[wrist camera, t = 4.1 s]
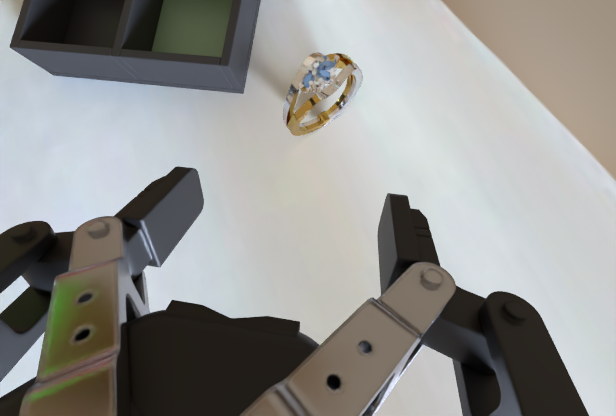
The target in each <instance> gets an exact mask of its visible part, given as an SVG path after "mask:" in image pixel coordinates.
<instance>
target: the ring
mask: <svg viewBox="0 0 616 416" xmlns="http://www.w3.org/2000/svg"><path fill="white" fill-rule="evenodd" d="M338 68H341V69H343V70H342V71H341V72H340V73H339V74H338V76H337V77H336V78H335V71H336V70H337V69H338ZM347 77H348V79H347V84H346V87H345V90H344V92H343V94H342V95H341V97H340V98H339V99H338V101H337V102H336V103H335V104H334V105H333V106H332V107H331V108H330V109H329V110H327V111H326V112H325V111H324V112H322V113H320V114H319V115H318V116H317V118H315V119H313V120H311V121H309V122H306V123H301V121H302V120H303V119H304V117H305V116H306V115H307V114H308V113H309V112H310V110H311V109H312V108H313V107H314V106H315V105H316V104H317V103H318V102H319V101H321V100H322V99H324V98H327V97H329V96H330V95H331V94H333V93H334V92H335V91H336V90H337V89H338V88H339V87H340V86H341V84H342V83H343V82H344V81H345V79H346V78H347ZM362 81H363V74H362V71H361V69H360V68H359V67H358V66H357V64H356V63H354V62H353V61H352V60H351V58H350V57H348V56H347V55H344V54H339V53H336V54H329V55H324V54H321V53H313V54H311V55H310V56H308V57H307V58H306V59H305V61H304V62H303V63H302V65H301V67H300V68H299V70H298V72H297V74H296V76H295V78H294V80H293V82H292V84H291V86H290V89H289V91H288V94H287V96H286V100H285V104H284V109H283V120H284V123H285V124H286V126H287V128H288V129H289V130H290V132H291V133H292V134H293V135H295V136H300V135H305V134H308V133H310V132H313V131H315V130H317V129H319V128H320V127H325V126H327V125H328V124H329V123H330V121H332V120H333V119H334V118H335V117H337V116H338V115H339V114H340V113H341V112H342V111H343V110H344V109H345V108H346V107H347V106H348V105H349V104H350V103H351V101H352V100H353V99H354V97H355V96H356V94H357V92H358V91H359V89H360V87H361V84H362ZM325 84H330V85H329V86H328V87H327V88H325V87H326V86H325ZM324 88H325V89H324ZM310 89H312V91H313V92H314V93H315V95H314V96H313V97H311V98H310V99H309V100H308V101H307V102H306V103H304V104H303V105H302V106H301V107H300V108H299V109H298V110H297V111H296V112H295V114H294V110H295V107H296V103H297V100H298V98H299V95H300V93H301V91H302V92H303V93H304V94H305V93H307V92H308V90H310ZM322 89H324V90H322Z"/></svg>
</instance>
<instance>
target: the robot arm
mask: <svg viewBox="0 0 616 416" xmlns="http://www.w3.org/2000/svg"><path fill="white" fill-rule="evenodd" d="M203 204H204V199H203V194H202V189H201V184H200V179H199V175H198V172H197V170H196V169H194V168H186V167H175V168H174V169H173V170H172V171H171V172H170V173H169V174H167V175H166V176H164V177H162V178H160V179H158V180H156V181H153V182H152V183H151V184H150V185H148V186H147V187H146V188H145V189H144V191H142V192H141V193H139V194H138V196H137V197H135V198H134V199H133V200H132V201H130V202H129V203H128V204H127V205H126V206H125V207H124V208H123V209H121V210H120V211H119V212H118V213H117V214H116V215H115V216H113V217H112V216H105V217H99V218H95V219H92V220H90V221H87V222H85V223H84V224H82V225H81V226H79V227H78V228H77V229H76V231H72V232H60V233H54V231H53V230H52V228H51V227H50V225H49V224H48V223H47V222H43V221H32V222H26V223H23V224H19V225H17V226H14V227H12V228H10V229H8V230H6V231H5V232H3V233H2V234H0V293H1V292H3V291H4V290H5V289H6V288H7V287H8V286H9V285H11V284H12V283H13V282H14V281H15V280H16V279H17V278H18V277H20V276H21V275H22V277H23V278H24V279H25V280H26V281H27V283H28V284H29V285H30V287H28V288H27V289H26V290H25V291H24V292H23V293H22V294H21V295H20V296H19V297H18V298H17V299H16V300H15V301H14V302H13V303H11V304H10V305H9V306H8V307H7V308H6V309H5V310H4V311H3V312H2V313H1V314H0V382H1V381H2V379H3V378H4V377H5V376H6V375H7V374H8V373H9V371H10V370H11V369H12V368H13V367H14V366H15V365H16V364H17V362H18V361H19V360H20V359H21V358H22V357H23V356H24V354H25V353H26V352H27V351H28V350H29V349H30V348H31V346H32V345H33V344H34V343H35V342H36V341H37V340H38V338H39V337H40V336H41V335H42V334H43V333H44V332H45V334H44V339H43V345H42V350H41V356H40V361H39V367H38V372H37V376H36V377H35V378H33V379H31V380H30V381H28V382H26V383H24V384H23V385H21V386H19V387H18V388H16V389H14V390H13V391H11V392H9V393H8V394H6V395H4V396H3V397H1V398H0V416H374V414H375V413H376V412H377V410H378V409H379V407H380V406H381V405H382V403H383V402H384V400H385V399H386V397H387V396H388V394H389V393H390V391H391V390H392V388H393V387H394V385H395V384H396V382H397V381H398V379H399V378H400V377H401V375H402V374H403V373H404V371H405V370H406V368H407V367H408V366H409V364H410V363H411V362H412V360H413V359H414V358H415V356H416V355H417V353H418V352H419V351H420V349H421V348H422V347H423V345H426V346H428V347H430V348H432V349H434V350H436V351H438V352H440V353H442V354H444V355H446V356H448V357H450V358H452V359H453V365H454V370H455V375H456V381H457V386H458V392H459V397H460V402H461V408H462V413H463V416H589V415H588V413H587V411H586V408H585V406H584V404H583V402H582V400H581V398H580V396H579V394H578V392H577V390H576V388H575V386H574V384H573V382H572V380H571V378H570V376H569V374H568V371H567V369H566V367H565V365H564V363H563V361H562V359H561V357H560V355H559V353H558V351H557V349H556V347H555V345H554V343H553V341H552V339H551V336H550V334H549V332H548V330H547V328H546V326H545V324H544V322H543V320H542V318H541V316H540V315H539V313H538V312H537V311H536V309H535V308H534V307H533V306H532V305H530V304H529V303H528V302H527V301H525V300H524V299H522V298H520V297H518V296H516V295H514V294H511V293H508V292H502V291H497V292H493V293H491V294H490V295H489V296H488V297H487V298H483V297H481V296H478V295H476V294H473V293H471V292H468V291H466V290H463V289H461V288H460V287H458V286H456V284H455V281H454V279H453V278H452V276H451V275H450V274H449V273H448V272H447V271H446V270H445V269H443V268H442V267H440V263H439V260H438V256H437V253H436V249H435V246H434V242H433V239H432V238H431V237H432V235H431V232H430V230H429V225H428V221H427V218H426V217H425V216H424V215H423V214H422V213H421V212H420V210H417V209H410V205H409V201H408V197H407V196H406V195H398V194H390V193H388V194H387V196H386V199H385V203H384V207H383V211H382V215H381V218H380V222H379V227H378V251H379V268H380V284H381V296H380V297H379V298H378V299H377V300H375V299H374V298H370V299H368V300H367V301H366V302H365V303H364V304H363V305H362V306H361V307H359V308H358V309H357V310H356V311H355V312H354V313H353V314H352V315H351V316H350V317H349V318H348V319H347V320H346V321H345V322H344V323H343V324H342V325H341V326H340V327H339V328H338V329H337V330H336V331H335V332H333V333H332V334H331V335H330V336H329V337H328V338H327V339H326V340H325V341H324V342H323V343H322V344H321V345H319V344H317V343H316V342H315V341H314V340H313V339H311V338H309V337H308V336H306V335H304V334H302V333H300V332H299V330H300V322H298V321H292V320H287V319H281V318H275V317H269V316H264V317H250V318H229V317H227V316H224V315H222V314H220V313H218V312H216V311H214V310H212V309H210V308H207V307H205V306H203V305H199V304H193V303H187V302H181V301H175V300H172V301H171V302H170V304H169V306H168V307H167V309H166V310H162V311H157V312H152V313H150V310H149V302H148V294H147V285H146V277H145V273H144V271H143V270H144V268H145V267H146V266H147V265H149V266H155V267H161V265H162V264H163V263H164V261H165V260H166V259H167V257H168V256H169V255H170V253H171V252H172V251H173V249H174V248H175V246H176V245H177V244H178V242H179V241H180V240H181V238H182V237H183V236H184V234H185V233H186V232H187V230H188V229H189V228H190V226H191V225H192V224H193V222H194V221H195V220H196V218H197V217H198V216H199V214H200V213H201V211H202V209H203Z"/></svg>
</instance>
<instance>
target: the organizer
mask: <svg viewBox="0 0 616 416" xmlns="http://www.w3.org/2000/svg"><path fill="white" fill-rule="evenodd" d="M259 6H260V0H24V2H23V5H22V8H21V12H20V15H19V18H18V21H17V24H16V28H15V31H14V34H13V37H12V41H11V44H10V48H12V49H13V50H15V51H16V52H18V53H19V54H21V55H23V56H24V57H26V58H27V59H29V60H30V61H32V62H34V63H35V64H37V65H38V66H40V67H41V68H43V69H45V70H46V71H48V72H49V73H51V74H52V75H57V76H67V77H78V78H88V79H98V80H109V81H119V82H130V83H140V84H150V85H161V86H171V87H182V88H192V89H202V90H213V91H223V92H234V93H243V92H244V87H245V82H246V76H247V71H248V65H249V60H250V54H251V49H252V44H253V38H254V33H255V27H256V22H257V17H258V11H259Z"/></svg>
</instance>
